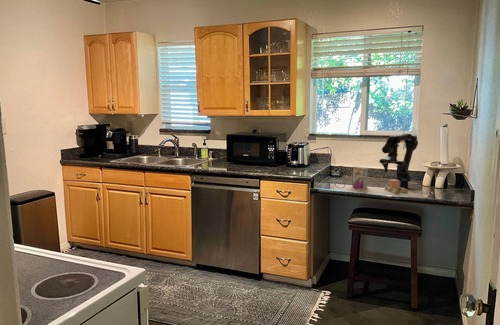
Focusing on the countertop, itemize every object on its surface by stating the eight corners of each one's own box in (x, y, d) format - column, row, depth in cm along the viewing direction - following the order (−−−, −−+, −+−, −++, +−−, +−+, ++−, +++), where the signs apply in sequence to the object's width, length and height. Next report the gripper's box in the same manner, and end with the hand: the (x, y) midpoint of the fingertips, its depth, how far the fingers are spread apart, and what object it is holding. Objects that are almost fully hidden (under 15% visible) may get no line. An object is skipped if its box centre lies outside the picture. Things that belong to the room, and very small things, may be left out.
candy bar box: (352, 187, 315) (352, 166, 313) (356, 186, 318) (357, 166, 315) (362, 189, 306) (363, 168, 303) (367, 189, 308) (368, 168, 306)
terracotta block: (388, 190, 301) (388, 179, 300) (394, 189, 302) (394, 179, 301) (392, 191, 296) (392, 181, 295) (398, 191, 297) (398, 180, 296)
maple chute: (384, 190, 303) (385, 185, 302) (394, 190, 305) (394, 185, 304) (397, 195, 287) (397, 190, 287) (407, 194, 289) (407, 189, 289)
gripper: (375, 152, 297) (374, 172, 299) (398, 154, 283) (396, 176, 285) (384, 151, 304) (383, 171, 306) (407, 153, 290) (405, 175, 292)
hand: (391, 173), depth 297 cm, fingers open, 9 cm apart
